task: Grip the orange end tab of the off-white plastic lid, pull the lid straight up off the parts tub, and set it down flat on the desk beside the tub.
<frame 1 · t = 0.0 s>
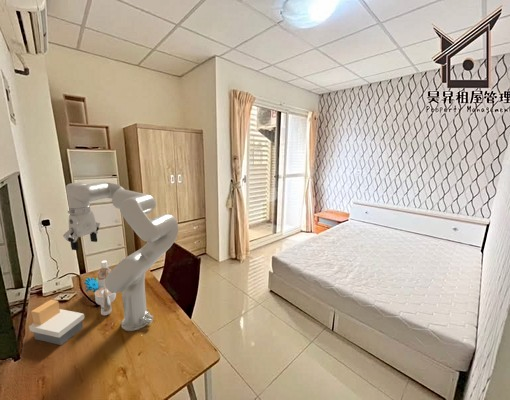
hand: (85, 245, 107), 37 cm above the table, tool pointing down, fingers open, 9 cm apart
tub: (59, 333, 103), on the table
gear: (94, 290, 129), point 3 cm above the table, touching cosmetic set
cosmetic set: (106, 301, 122), point 1 cm above the table, touching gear
lid: (57, 321, 101), point 6 cm above the table, touching tub
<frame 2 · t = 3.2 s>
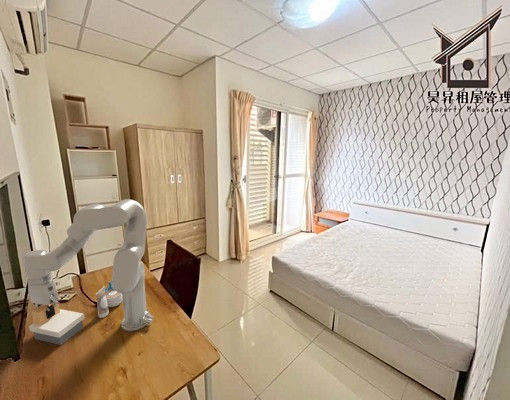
hand: (46, 315, 102), 8 cm above the table, tool pointing down, fingers closed on lid, 4 cm apart
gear: (105, 285, 132), point 4 cm above the table
cosmetic set: (114, 303, 123), on the table
lid: (57, 321, 101), point 6 cm above the table, touching gripper, tub
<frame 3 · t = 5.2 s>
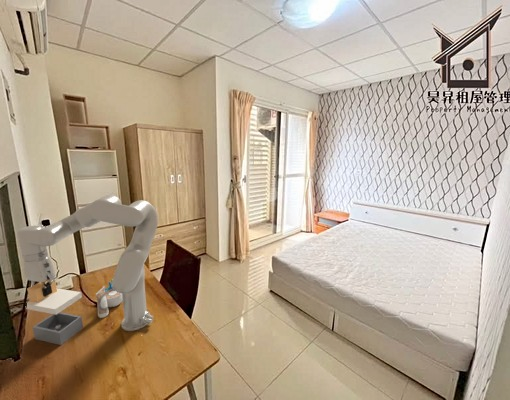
hand: (43, 293, 100), 19 cm above the table, tool pointing down, fingers closed on lid, 4 cm apart
lid: (54, 299, 99), point 17 cm above the table, touching gripper
everything else where it was.
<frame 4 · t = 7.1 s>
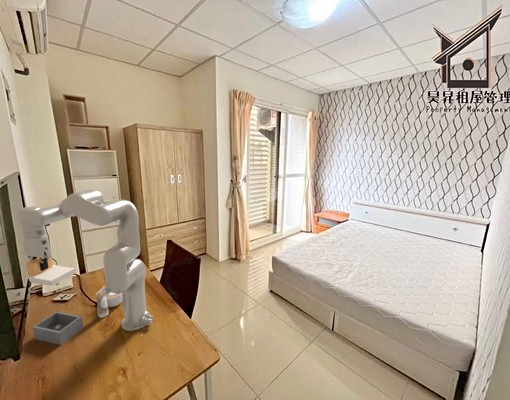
hand: (40, 268, 111), 24 cm above the table, tool pointing down, fingers closed on lid, 4 cm apart
lid: (50, 274, 110), point 22 cm above the table, touching gripper
everything else where it was.
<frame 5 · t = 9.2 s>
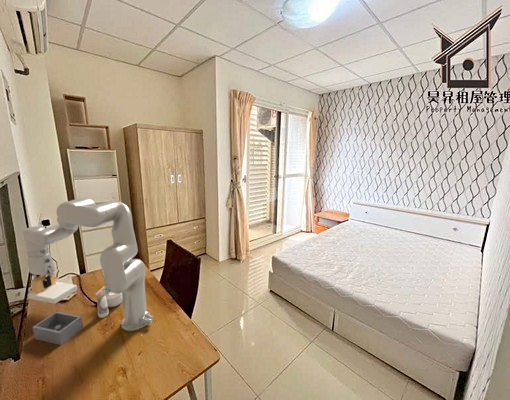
hand: (44, 285, 114), 14 cm above the table, tool pointing down, fingers closed on lid, 4 cm apart
lid: (53, 291, 113), point 11 cm above the table, touching gripper
everything else where it was.
when the fingers open (5 cm above the table, at t = 11.1 s): lid drops 2 cm, point 1 cm above the table.
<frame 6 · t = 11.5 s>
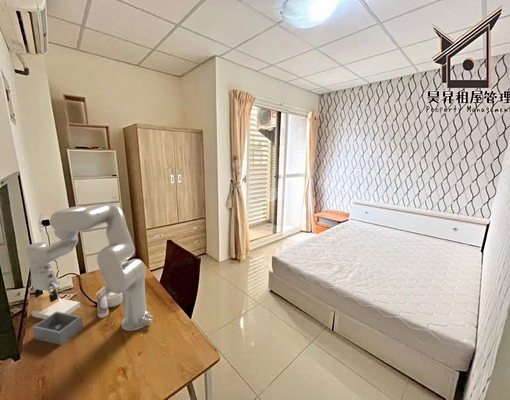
hand: (46, 298, 116), 6 cm above the table, tool pointing down, fingers open, 8 cm apart
lid: (56, 308, 116), point 1 cm above the table
everything else where it was.
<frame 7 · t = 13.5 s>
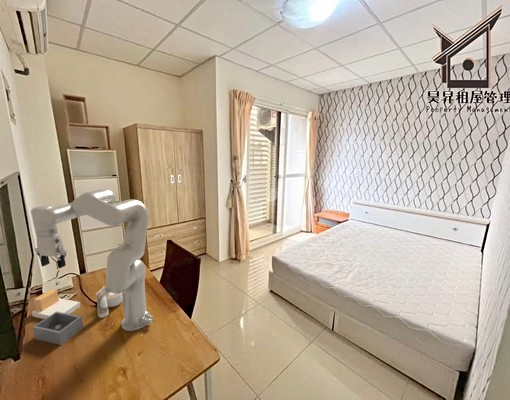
hand: (53, 265, 110), 25 cm above the table, tool pointing down, fingers open, 9 cm apart
nothing on the table moved.
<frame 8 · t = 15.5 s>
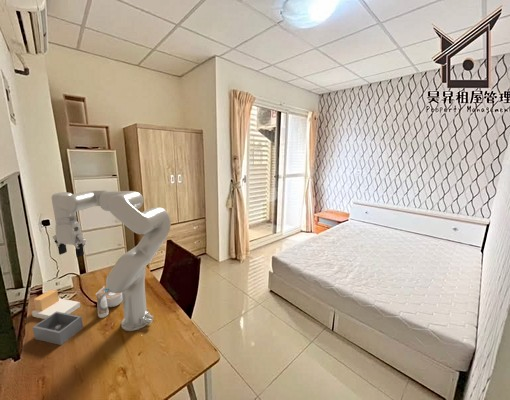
hand: (71, 254, 107), 32 cm above the table, tool pointing down, fingers open, 9 cm apart
nothing on the table moved.
at the end: lid inside the target area (0.1 cm from its centre), point 1.5 cm above the table; lid tilted 0°; the gripper is holding nothing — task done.
